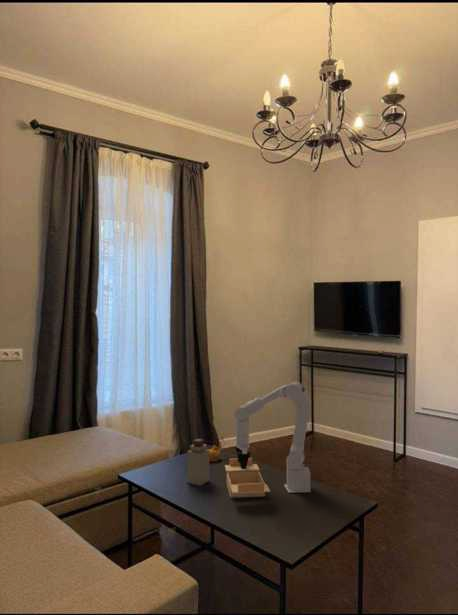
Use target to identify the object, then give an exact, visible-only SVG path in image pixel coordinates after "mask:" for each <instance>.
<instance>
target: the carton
mask: <svg viewBox="0 0 458 615" xmlns="http://www.w3.org/2000/svg"><path fill="white" fill-rule="evenodd" d="M246 483H264V484H266V483H265V481H264V479H263V477H262V474H261V472H260V470H259V471H232V472H226V487H227V490H228V495H229V498H230V499H231V498H233V499H234V498H254V497H255V498H257V497H266V492H255V493H232V490H231V487H230V485H238V484H246Z"/></svg>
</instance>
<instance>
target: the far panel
mask: <svg viewBox="0 0 458 615" xmlns="http://www.w3.org/2000/svg"><path fill="white" fill-rule="evenodd" d="M224 469H225V472H226V473H227V472H255V471H259V472H260V468H259V466H258V464H256V463H253V457H249V459H248V462H247V467H246V469H241V466H240V463H239V461H238V457H237V458H229V464H225V465H224Z"/></svg>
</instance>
